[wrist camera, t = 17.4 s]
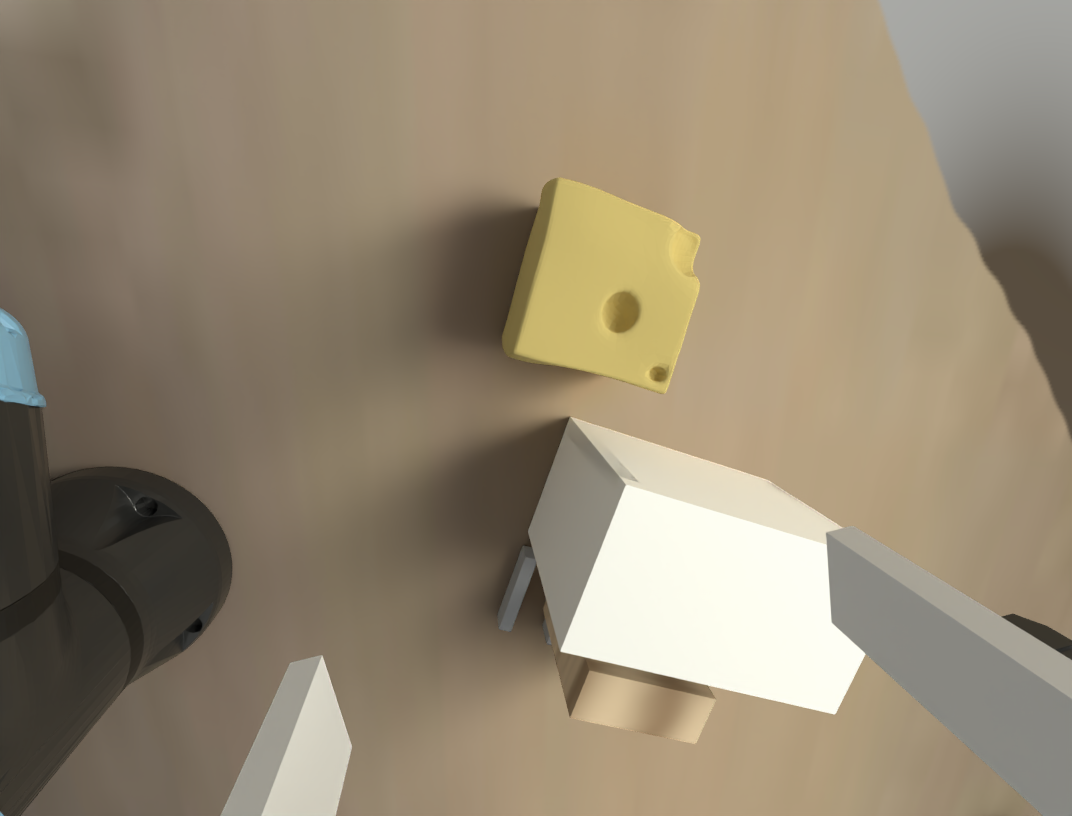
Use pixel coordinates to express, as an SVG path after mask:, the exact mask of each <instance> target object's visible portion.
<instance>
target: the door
mask: <svg viewBox="0 0 1072 816" xmlns="http://www.w3.org/2000/svg"><path fill="white" fill-rule="evenodd" d="M543 612H544V616H545V620H546V624H547V628H548V632H549V636H550V640H551V644H552V648H553V652H554V656H555V660H556V664H557V668H558V672H559V676H560V680H561V684H562V688H563V692H564V696H565V700H566V704H567V708H568V712H569V716H570V718H573V719H577V720H582V721H587V722H592V723H597V724H601V725H606V726H611V727H616V728H621V729H625V730H630V731H635V732H640V733H645V734H649V735H654V736H659V737H664V738H669V739H674V740H678V741H683V742H688V743H693V744H696V742H697V740H698V738H699V736H700V734H701V731H702V729H703V727H704V725H705V723H706V721H707V718H708V716H709V714H710V712H711V710H712V708H713V705H714V703H715V701H716V698H715V697H714V695H713V693H712V692H711V690H710V689H709V687H708V685H704V684H700V683H696V682H691V681H687V680H682V679H678V678H674V677H669V676H665V675H661V674H656V673H652V672H647V671H643V670H639V669H634V668H630V667H626V666H621V665H617V664H612V663H608V662H604V661H599V660H595V659H591V658H586V657H582V656H577V655H573V654H569V653H564V652H560V649H559V645H558V641H557V638H556V634H555V630H554V627H553V623H552V619H551V615H550V612H549V608H548V604H547V601H546V602H545V604H544V607H543Z"/></svg>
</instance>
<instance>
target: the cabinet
mask: <svg viewBox="0 0 1072 816" xmlns="http://www.w3.org/2000/svg"><path fill="white" fill-rule="evenodd" d="M842 528H843V527H841V526H839V525H838V524H836V523H835V522H833V521H832V520H830V519H828V518H827V517H825V516H824V515H822V514H821V513H819V512H817V511H816V510H814V509H813V508H811V507H810V506H808V505H806V504H805V503H803V502H802V501H800V500H799V499H797V498H795V497H794V496H792V495H791V494H789V493H787V492H786V491H784V490H783V489H781V488H780V487H778V486H776V485H775V484H773V483H772V482H770V481H769V480H767V479H764V478H760V477H757V476H754V475H751V474H748V473H745V472H742V471H739V470H735V469H732V468H729V467H726V466H723V465H720V464H717V463H714V462H710V461H707V460H704V459H701V458H698V457H695V456H692V455H689V454H685V453H682V452H679V451H676V450H673V449H670V448H667V447H663V446H660V445H657V444H654V443H651V442H648V441H645V440H642V439H638V438H635V437H632V436H629V435H626V434H623V433H620V432H617V431H613V430H610V429H607V428H604V427H601V426H598V425H595V424H592V423H588V422H585V421H582V420H579V419H576V418H573V417H570V418H569V421H568V424H567V426H566V429H565V432H564V434H563V437H562V440H561V443H560V445H559V448H558V451H557V453H556V456H555V459H554V462H553V464H552V467H551V470H550V473H549V475H548V478H547V481H546V483H545V486H544V489H543V492H542V494H541V497H540V500H539V503H538V505H537V508H536V511H535V513H534V516H533V519H532V522H531V524H530V527H529V530H528V534H529V537H530V541H531V545H532V547H528V546H524V545H523V546H522V549H521V552H520V554H519V557H518V560H517V562H516V565H515V568H514V571H513V573H512V576H511V579H510V582H509V584H508V587H507V590H506V592H505V595H504V598H503V601H502V603H501V606H500V609H499V611H498V614H497V616H498V625H499V629H500V630H504V631H509V632H511V630H512V627H513V625H514V622H515V619H516V617H517V614H518V611H519V609H520V606H521V603H522V601H523V598H524V595H525V593H526V590H527V587H528V585H529V582H530V579H531V577H532V574H533V571H534V569H535V566H536V563H537V567H538V571H539V575H540V578H541V582H542V586H543V589H544V593H545V597H546V601H547V604H548V608H549V612H550V615H551V619H552V623H553V627H554V630H555V634H556V638H557V641H558V645H559V649H560V652H564V653H569V654H573V655H577V656H582V657H586V658H591V659H595V660H599V661H604V662H608V663H612V664H617V665H621V666H626V667H630V668H634V669H639V670H643V671H647V672H652V673H656V674H661V675H665V676H669V677H674V678H678V679H682V680H687V681H691V682H696V683H700V684H704V685H709V686H713V687H717V688H722V689H726V690H731V691H735V692H739V693H744V694H748V695H752V696H757V697H761V698H765V699H770V700H774V701H779V702H783V703H787V704H792V705H796V706H800V707H805V708H809V709H814V710H818V711H822V712H827V713H831V714H836V712H837V710H838V708H839V706H840V704H841V702H842V700H843V698H844V696H845V694H846V692H847V690H848V688H849V686H850V684H851V682H852V680H853V678H854V676H855V674H856V672H857V670H858V668H859V666H860V664H861V662H862V660H863V658H864V656H865V653H864V652H863V651H862V650H861V649H860V648H859V647H858V646H857V645H856V644H854V643H853V642H852V641H851V640H850V639H849V638H848V637H847V636H846V635H845V634H843V633H842V632H841V631H840V630H839V629H838V628H837V627H836V626H835V625H834V624H832V622H831V606H830V589H829V573H828V557H827V540H826V532H829V531H833V530H837V529H842ZM542 626H543V631H544V635H545V639H546V643H547V644H549V645H552V644H551V640H550V636H549V632H548V628H547V624H546V620H545V619H544V622H543V625H542Z"/></svg>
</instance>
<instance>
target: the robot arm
mask: <svg viewBox="0 0 1072 816" xmlns="http://www.w3.org/2000/svg"><path fill="white" fill-rule="evenodd" d="M42 407H46V400H45V399H44V396H42V395H41V394H40V393H38V388H37V383H36V377H35V372H34V367H33V361H32V356H31V351H30V345H29V340H28V337H27V334H26V332H25V330H24V328H23V327H22V326H21V324H20V323H19V322H18V321H17V320H16V319H15V318H14V317H13V316H12V315H11V314H9V313H8V312H6V311H5V310H3V309H1V308H0V816H21V814H22V813H23V812H24V811H25V810H26V808H27V807H28V806H29V805H30V803H31V802H32V801H33V800H34V798H35V797H36V796H37V795H38V794H39V792H40V791H41V790H42V789H43V787H44V786H45V785H46V784H47V783H48V781H49V780H50V779H51V778H52V776H53V775H54V774H55V773H56V771H57V770H58V769H59V768H60V767H61V765H62V764H63V763H64V762H65V760H66V759H67V758H68V757H69V756H70V754H71V753H72V752H73V751H74V749H75V748H76V747H77V746H78V744H79V743H80V742H81V741H82V740H83V738H84V737H85V736H86V735H87V733H88V732H89V731H90V730H91V729H92V727H93V726H94V725H95V724H96V722H97V721H98V720H99V719H100V718H101V716H102V715H103V714H104V713H105V712H106V710H107V709H108V708H109V707H110V706H111V704H112V703H113V702H114V701H115V700H116V698H117V697H118V696H119V695H120V693H121V692H122V691H123V690H124V689H125V687H126V686H127V685H129V684H131V683H132V682H134V681H136V680H137V679H139V678H141V677H142V676H144V675H146V674H147V673H149V672H151V671H152V670H154V669H156V668H157V667H159V666H161V665H162V664H164V663H166V662H167V661H169V660H171V659H172V658H174V657H176V656H177V655H179V654H180V653H182V652H183V651H184V650H186V649H187V648H188V647H189V646H191V645H192V644H193V643H194V642H195V641H196V640H197V639H198V638H199V637H200V636H201V635H202V634H203V632H204V631H205V630H206V628H207V627H208V626H209V624H210V623H211V622H212V620H213V619H214V618H215V616H216V615H217V614H218V612H219V611H220V609H221V608H222V606H223V604H224V602H225V600H226V597H227V595H228V592H229V589H230V584H231V578H232V559H231V553H230V548H229V545H228V542H227V539H226V537H225V534H224V532H223V530H222V528H221V526H220V525H219V523H218V521H217V520H216V519H215V517H214V516H213V514H212V513H211V512H210V511H209V510H208V509H207V507H206V506H205V505H204V504H203V503H202V502H200V501H199V500H198V499H197V498H196V497H195V496H193V495H192V494H191V493H190V492H188V491H187V490H185V489H184V488H182V487H180V486H179V485H177V484H175V483H173V482H171V481H169V480H167V479H165V478H163V477H160V476H157V475H155V474H152V473H148V472H145V471H140V470H136V469H130V468H121V467H100V468H91V469H85V470H81V471H77V472H73V473H70V474H67V475H65V476H62V477H60V478H58V479H55V480H53V481H51V482H50V476H49V467H48V458H47V449H46V440H45V431H44V422H43V413H42ZM826 540H827V557H828V573H829V589H830V606H831V622H832V624H834V625H835V626H836V627H837V628H838V629H839V630H840V631H841V632H842V633H843V634H845V635H846V636H847V637H848V638H849V639H850V640H851V641H852V642H853V643H854V644H856V645H857V646H858V647H859V648H860V649H861V650H862V651H863V652H864V653H865V654H866V655H868V656H869V657H870V658H871V659H872V660H873V661H874V662H875V663H876V664H877V665H879V666H880V667H881V668H882V669H883V670H884V671H885V672H886V673H887V674H888V675H890V676H891V677H892V678H893V679H894V680H895V681H896V682H897V683H898V684H899V685H900V686H902V687H903V688H904V689H905V690H906V691H907V692H908V693H909V694H910V695H911V696H913V697H914V698H915V699H916V700H917V701H918V702H919V703H920V704H921V705H922V706H923V707H925V708H926V709H927V710H928V711H929V712H930V713H931V714H932V715H933V716H934V717H936V718H937V719H938V720H939V721H940V722H941V723H942V724H943V725H944V726H945V727H947V728H948V729H949V730H950V731H951V732H952V733H953V734H954V735H955V736H956V737H957V738H959V739H960V740H961V741H962V742H963V743H964V744H965V745H966V746H967V747H968V748H970V749H971V750H972V751H973V752H974V753H975V754H976V755H977V756H978V757H979V758H981V759H982V760H983V761H984V762H985V763H986V764H987V765H988V766H989V767H990V768H991V769H993V770H994V771H995V772H996V773H997V774H998V775H999V776H1000V777H1001V778H1002V779H1004V780H1005V781H1006V782H1007V783H1008V784H1009V785H1010V786H1011V787H1012V788H1013V789H1014V790H1016V791H1017V792H1018V793H1019V794H1020V795H1021V796H1022V797H1023V798H1024V799H1025V800H1027V801H1028V802H1029V803H1030V804H1031V805H1032V806H1033V807H1034V808H1035V809H1036V810H1038V811H1039V812H1040V813H1041V814H1042V815H1043V816H1072V640H1070V639H1068V638H1067V637H1065V636H1063V635H1061V634H1060V633H1058V632H1056V631H1055V630H1053V629H1051V628H1049V627H1048V626H1045V625H1042V624H1040V623H1037V622H1034V621H1031V620H1029V619H1026V618H1023V617H1020V616H1018V615H1015V614H1010V615H1006V616H1002V617H1001V616H999V615H997V614H996V613H994V612H993V611H991V610H989V609H988V608H986V607H984V606H983V605H981V604H980V603H978V602H976V601H975V600H973V599H971V598H970V597H968V596H967V595H965V594H963V593H962V592H960V591H958V590H957V589H955V588H954V587H952V586H950V585H949V584H947V583H945V582H944V581H942V580H941V579H939V578H937V577H936V576H934V575H932V574H931V573H929V572H927V571H926V570H924V569H923V568H921V567H919V566H918V565H916V564H914V563H913V562H911V561H910V560H908V559H906V558H905V557H903V556H901V555H900V554H898V553H897V552H895V551H893V550H892V549H890V548H888V547H887V546H885V545H884V544H882V543H880V542H879V541H877V540H875V539H874V538H872V537H871V536H869V535H867V534H866V533H864V532H862V531H861V530H859V529H858V528H856V527H854V526H850V527H846V528H842V529H837V530H833V531H829V532H826ZM351 749H352V745H351V742H350V739H349V736H348V733H347V730H346V727H345V724H344V721H343V718H342V715H341V711H340V708H339V705H338V702H337V699H336V696H335V693H334V690H333V687H332V684H331V681H330V678H329V674H328V671H327V668H326V665H325V662H324V659H323V656H322V655H320V656H316V657H312V658H308V659H304V660H300V661H296V662H291V663H290V664H289V666H288V669H287V671H286V673H285V675H284V677H283V680H282V682H281V684H280V686H279V688H278V691H277V693H276V695H275V697H274V699H273V702H272V704H271V706H270V708H269V710H268V713H267V715H266V717H265V719H264V721H263V724H262V726H261V728H260V730H259V732H258V735H257V737H256V739H255V741H254V743H253V746H252V748H251V750H250V752H249V754H248V757H247V759H246V761H245V763H244V765H243V768H242V770H241V772H240V774H239V776H238V779H237V781H236V783H235V785H234V787H233V790H232V792H231V794H230V796H229V798H228V801H227V803H226V805H225V807H224V809H223V812H222V814H221V816H336V812H337V808H338V804H339V799H340V795H341V791H342V787H343V783H344V778H345V774H346V770H347V766H348V762H349V757H350V753H351Z"/></svg>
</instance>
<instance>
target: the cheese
mask: <svg viewBox="0 0 1072 816" xmlns="http://www.w3.org/2000/svg"><path fill="white" fill-rule="evenodd" d="M699 244H700V237H699V235H697V234H696V233H693V232H690V231H687V230H686V229H684V228H683V227H682V226H681V225H680V224H679V223H677V222H675V221H674V220H672V219H670V218H668V217H665V216H663V215H661V214H658V213H656V212H653V211H651V210H648V209H645V208H643V207H640V206H637V205H635V204H633V203H630V202H628V201H625V200H623V199H621V198H618V197H616V196H614V195H611V194H609V193H607V192H604V191H602V190H599V189H597V188H594V187H591V186H588V185H585V184H582V183H579V182H576V181H572V180H568V179H564V178H555V179H553V180H550V181H549V182H547V183H546V184H545V185H544V187H543V189H542V193H541V199H540V205H539V208H538V211H537V214H536V217H535V221H534V224H533V227H532V230H531V234H530V237H529V240H528V243H527V247H526V250H525V253H524V257H523V261H522V264H521V268H520V272H519V276H518V280H517V283H516V287H515V291H514V295H513V299H512V303H511V307H510V310H509V314H508V318H507V321H506V324H505V328H504V331H503V334H502V347H503V350H504V352H505V354H506V355H507V356H509V357H510V358H513V359H517V360H520V361H525V362H529V363H535V364H543V365H554V366H561V367H566V368H571V369H576V370H580V371H585V372H589V373H593V374H598V375H602V376H605V377H609V378H613V379H616V380H619V381H623V382H626V383H629V384H632V385H635V386H638V387H641V388H644V389H647V390H650V391H654V392H657V393H660V394H665V392H666V391H667V388H668V386H669V383H670V380H671V377H672V373H673V370H674V367H675V364H676V360H677V357H678V355H679V352H680V349H681V346H682V343H683V340H684V336H685V333H686V330H687V326H688V323H689V320H690V317H691V314H692V311H693V308H694V305H695V302H696V299H697V296H698V293H699V287H700V283H699V281H698V278H697V277H696V276H695V275H694V273H693V262H694V258H695V255H696V252H697V250H698V247H699Z"/></svg>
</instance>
